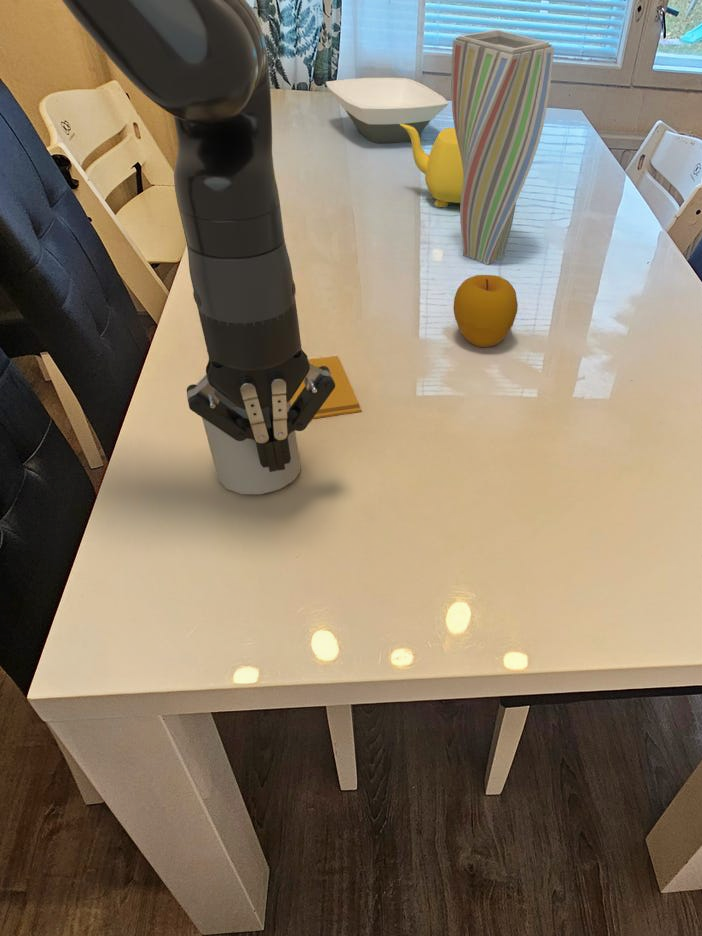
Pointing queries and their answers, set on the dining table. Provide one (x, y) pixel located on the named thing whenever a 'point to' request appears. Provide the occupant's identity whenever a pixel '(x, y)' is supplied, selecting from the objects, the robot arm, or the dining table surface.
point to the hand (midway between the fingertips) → (275, 465)
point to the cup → (247, 458)
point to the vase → (496, 130)
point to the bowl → (387, 106)
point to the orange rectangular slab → (341, 396)
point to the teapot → (440, 165)
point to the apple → (485, 309)
